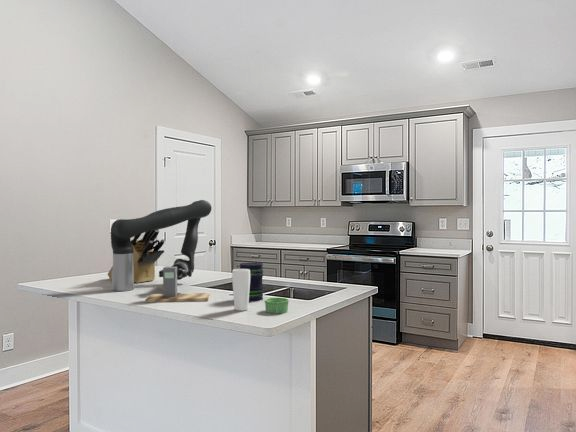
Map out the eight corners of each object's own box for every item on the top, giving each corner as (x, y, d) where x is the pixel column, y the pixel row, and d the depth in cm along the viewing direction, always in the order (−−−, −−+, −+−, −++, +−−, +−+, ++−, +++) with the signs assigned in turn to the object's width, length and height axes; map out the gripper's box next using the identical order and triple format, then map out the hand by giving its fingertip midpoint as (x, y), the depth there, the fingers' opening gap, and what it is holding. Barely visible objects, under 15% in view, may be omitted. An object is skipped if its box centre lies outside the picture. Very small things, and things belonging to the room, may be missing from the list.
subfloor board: (145, 302, 186) (145, 298, 186) (151, 296, 198) (151, 293, 198) (207, 301, 188) (207, 297, 188) (209, 295, 200) (209, 292, 200)
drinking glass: (236, 312, 167) (236, 271, 167) (229, 308, 173) (229, 269, 173) (253, 310, 170) (253, 270, 170) (246, 307, 176) (246, 268, 176)
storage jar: (254, 302, 185) (254, 265, 185) (234, 300, 190) (234, 264, 190) (267, 298, 194) (267, 263, 193) (248, 296, 198) (248, 262, 198)
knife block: (149, 285, 229) (149, 223, 229) (106, 279, 249) (106, 222, 249) (166, 282, 238) (166, 223, 238) (124, 277, 258) (124, 222, 258)
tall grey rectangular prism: (163, 297, 190) (163, 268, 189) (165, 294, 195) (165, 266, 195) (175, 296, 190) (175, 268, 190) (177, 294, 195) (177, 266, 195)
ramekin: (259, 312, 167) (259, 300, 167) (273, 308, 175) (273, 296, 175) (280, 315, 162) (280, 303, 162) (293, 310, 170) (293, 298, 170)
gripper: (163, 263, 217) (156, 267, 200) (194, 262, 218) (189, 266, 202) (163, 278, 217) (156, 284, 201) (194, 278, 218) (189, 283, 202)
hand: (173, 275), depth 201 cm, fingers open, 8 cm apart
